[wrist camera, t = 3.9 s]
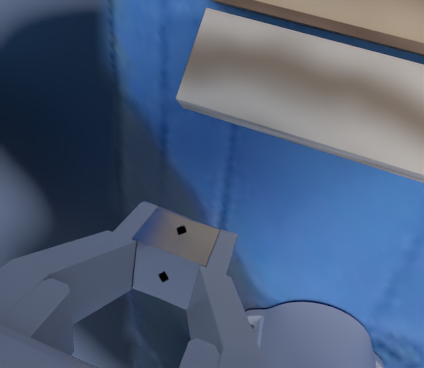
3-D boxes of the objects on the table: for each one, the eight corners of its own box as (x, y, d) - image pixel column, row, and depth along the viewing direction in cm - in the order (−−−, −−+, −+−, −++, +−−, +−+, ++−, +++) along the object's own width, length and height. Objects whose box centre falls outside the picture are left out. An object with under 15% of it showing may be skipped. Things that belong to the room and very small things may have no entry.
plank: (429, 184, 21) (451, 183, 19) (182, 107, 23) (175, 98, 21) (461, 93, 21) (487, 81, 19) (210, 25, 23) (206, 7, 21)
